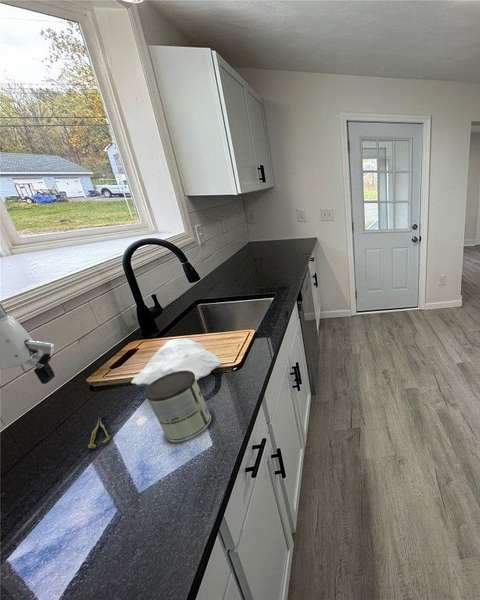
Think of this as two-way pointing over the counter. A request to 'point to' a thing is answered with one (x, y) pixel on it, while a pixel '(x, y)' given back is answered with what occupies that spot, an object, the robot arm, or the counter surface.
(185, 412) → the coffee can
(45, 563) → the counter surface
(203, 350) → the crumpled cloth
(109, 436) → the tongs
